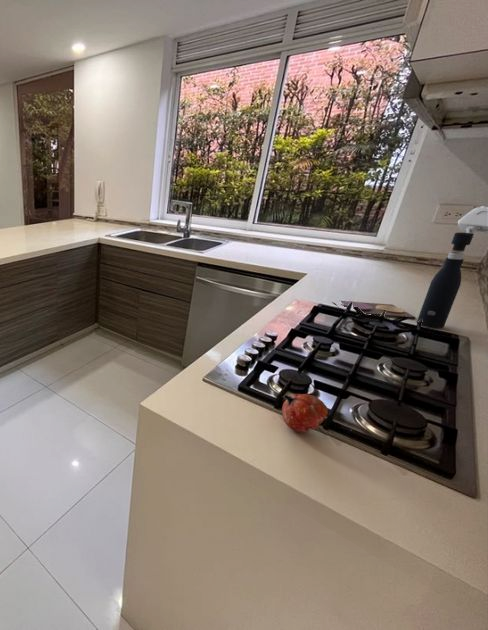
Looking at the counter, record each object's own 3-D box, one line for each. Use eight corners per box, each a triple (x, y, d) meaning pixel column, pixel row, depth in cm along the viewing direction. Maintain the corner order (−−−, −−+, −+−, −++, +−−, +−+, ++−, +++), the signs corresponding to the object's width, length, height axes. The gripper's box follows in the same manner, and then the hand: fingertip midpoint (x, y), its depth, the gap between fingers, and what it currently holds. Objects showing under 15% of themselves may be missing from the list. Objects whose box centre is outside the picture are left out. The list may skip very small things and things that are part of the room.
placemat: (391, 306, 130) (392, 303, 130) (414, 319, 118) (415, 315, 117) (331, 302, 136) (332, 299, 135) (346, 313, 123) (347, 310, 123)
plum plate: (364, 304, 130) (365, 302, 130) (376, 311, 122) (377, 309, 122) (337, 302, 133) (337, 300, 133) (347, 309, 125) (348, 307, 125)
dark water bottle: (437, 322, 114) (472, 232, 103) (448, 329, 109) (486, 235, 98) (412, 320, 117) (444, 231, 106) (421, 327, 111) (455, 234, 100)
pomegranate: (312, 429, 68) (273, 391, 70) (348, 416, 63) (305, 375, 65) (305, 453, 63) (264, 411, 66) (343, 441, 58) (297, 396, 60)
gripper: (475, 198, 112) (441, 230, 113) (572, 202, 93) (530, 239, 95) (479, 212, 114) (446, 243, 116) (575, 217, 96) (534, 254, 97)
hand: (485, 241), depth 105 cm, fingers open, 8 cm apart
